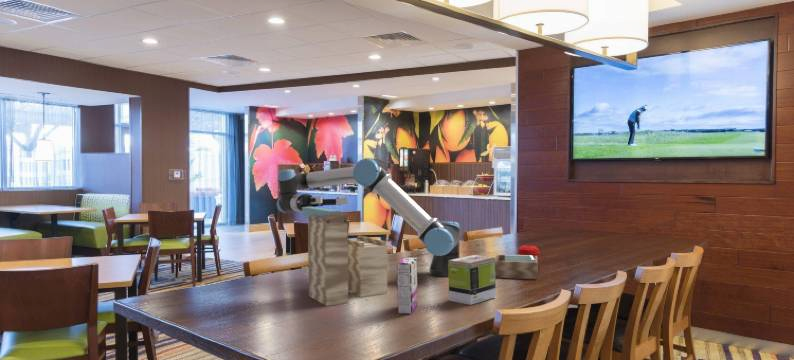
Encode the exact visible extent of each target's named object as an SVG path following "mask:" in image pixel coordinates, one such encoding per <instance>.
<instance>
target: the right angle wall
mask: <svg viewBox="0 0 794 360" xmlns="http://www.w3.org/2000/svg"><path fill="white" fill-rule="evenodd" d="M504 255H505V261H516V262H535V259H534V258H533V256H532V255H519V254H504Z"/></svg>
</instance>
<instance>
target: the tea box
mask: <svg viewBox="0 0 794 360" xmlns="http://www.w3.org/2000/svg"><path fill="white" fill-rule="evenodd" d="M495 257H496V256H486V255H475V254H472V255H467V256H462V257H461V256H460V258H457V259H452V260H448V270H449V276H448V301H450V302H454V303H459V304H464V305H469V306H472V305H474V304H478V303H483V302H484V301H485V302H486V301H488V300H491V299H495V298H497V287H496V286H497V285H496V284H497V283H496V279H497V278H495Z"/></svg>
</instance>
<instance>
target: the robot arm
mask: <svg viewBox="0 0 794 360" xmlns="http://www.w3.org/2000/svg"><path fill="white" fill-rule="evenodd" d="M388 169H389V168H388V165H387V164H386V163H385V162H384V161H383V160H381V159H378V158H370V157H366V158H362V159H359V161H357V162H356V163H355V165H354V166H347V167H341V168H333V169H325V170H324V169H323V170H317V171H311V172H310V171H309V172H302V173H296V171H295V169H293V168H289V169H281V170H279V171H278V172H277V173H278V175H277V176H278V178H277V179H278V186H279V194H280V195H279V198H278V199H277V201H276V208H277V210H278V211H279V212H281V213H285V214H287V213H291V214H292V213H297V214H300V213H302V207H323V206H342V205H348V197H346V196H345V197H339V196H337V197H336V198H323V196H322V195H321V196H320V195H319V196H312V195H311V194H309V193H305V194H298V191H299V190H301V191H302V190H303V191H304V190H309V189H314V188H323V187H333V186H339V185H348V184H356V183H357V184H359V185H360V186H362V187H365V188H366V189H367V190H368V191H369V192H370V193H371V194H373V195H378V196H379V197H380V198H382V200H383V201H385V202H386V203H387V204H388V205H389V206H390V207H391V208H392V209H393V211H395V212H396V213H397V214H398V215H399V216H400V217H401V218H402V219H403V220H404V221H405V222H406V223H407V224H408V225H409V226H410V227H411V228H413V229H414V231H416V232H417V238H418V239H419V240H420V241H421V243H423V245H424V247H425V249H426V251H427V252H428V253H430V254H431V255H432V256H433V257H432V260H431V262H430V266H429V275H431V276H436V277H449V270H448V260H452V259H457V258H461V255H460V251H461V250H460V231H461V229H460V223H459V222H456V221H441V220H440V219H438V217H431V216H430V214H429V213H427V212H426V211H425V210H424V209H423V208H422V207H421V206H420V205H419V204H418V203H417V202H416V201H415V200H414V199H413V198H412V197H411V196H410V195H408V193H406V192H405V191H404V190H403V188H401V187H400V186H399V185H398V184H397V183H396V182H395V181H393V179H392V173H390V172H389V170H388Z"/></svg>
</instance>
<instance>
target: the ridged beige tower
mask: <svg viewBox="0 0 794 360" xmlns="http://www.w3.org/2000/svg"><path fill="white" fill-rule="evenodd" d="M348 293H351V294H353V295H355V296H356V297H359V298H364V297H372V296H379V295H386V294H388V245H387V242H386V240H381V239H377V238H372V237H368V236H364V235H361V234H360V235H357V238H356V239H349V238H348Z"/></svg>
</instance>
